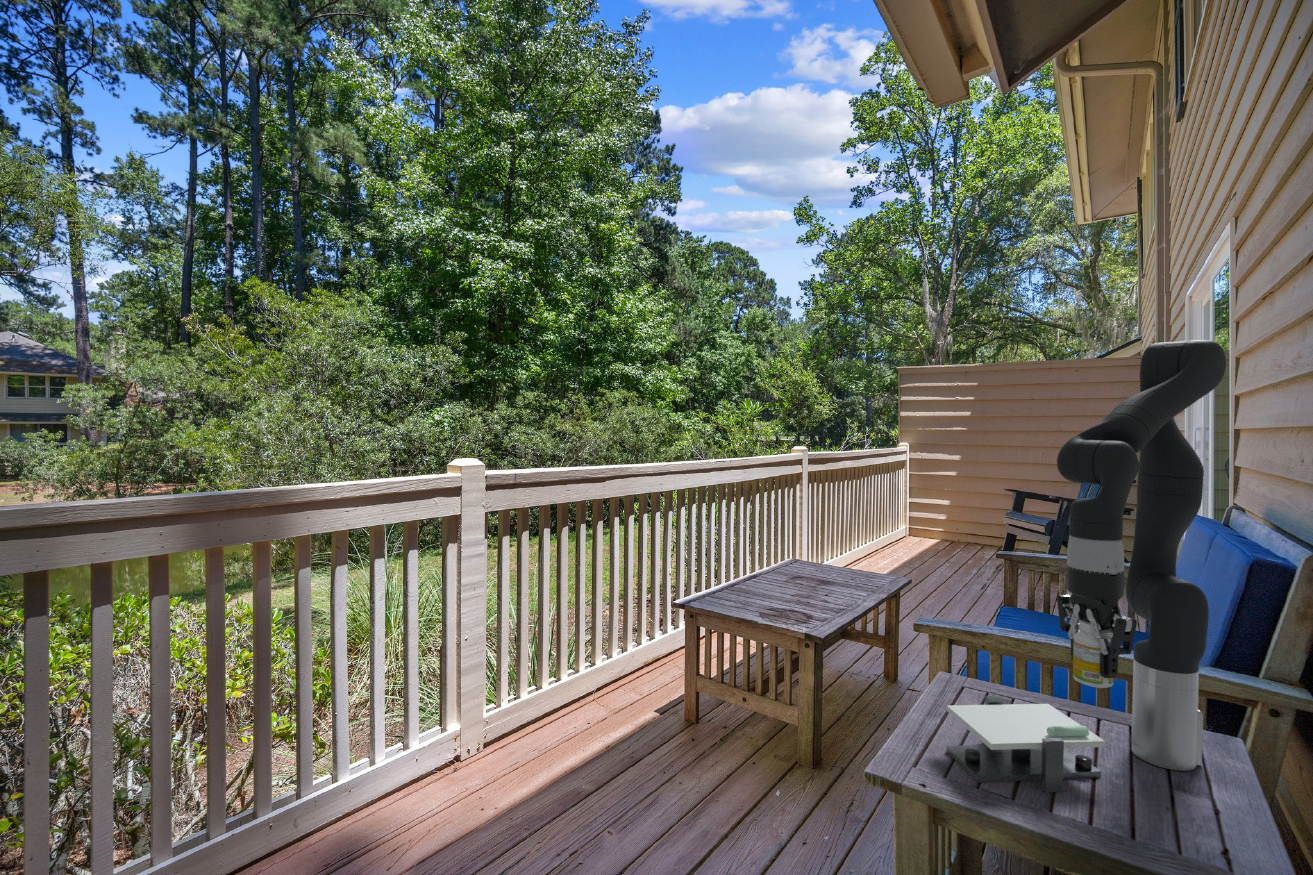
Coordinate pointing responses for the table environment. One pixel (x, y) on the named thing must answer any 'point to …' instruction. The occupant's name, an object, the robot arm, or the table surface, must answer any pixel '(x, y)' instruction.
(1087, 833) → the table surface
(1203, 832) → the table surface
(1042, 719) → the levelling plate
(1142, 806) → the table surface
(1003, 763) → the base
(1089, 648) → the supplement bottle
